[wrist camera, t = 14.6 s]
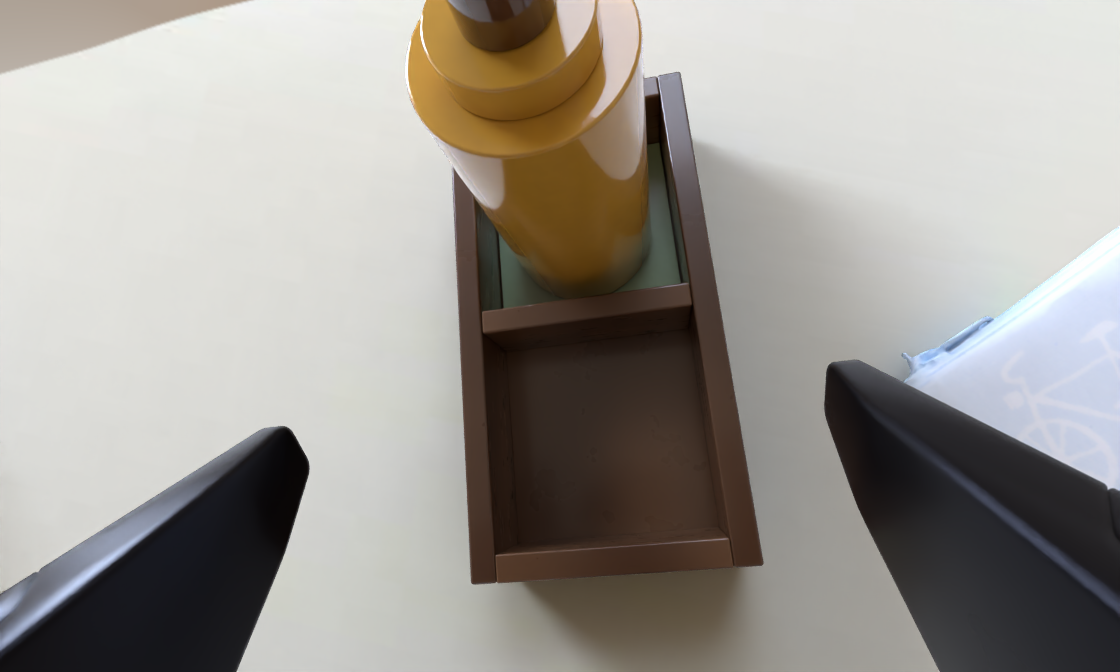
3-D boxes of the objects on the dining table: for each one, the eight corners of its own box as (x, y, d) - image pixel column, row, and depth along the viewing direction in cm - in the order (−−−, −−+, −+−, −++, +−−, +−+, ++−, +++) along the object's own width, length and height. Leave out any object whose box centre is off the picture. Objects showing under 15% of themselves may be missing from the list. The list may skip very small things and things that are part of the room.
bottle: (672, 197, 21) (686, -194, 9) (619, 320, 20) (551, 86, 8) (550, 159, 22) (410, -228, 10) (495, 273, 22) (271, 9, 9)
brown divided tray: (503, 565, 20) (470, 585, 16) (479, 167, 24) (448, 116, 20) (745, 548, 19) (764, 566, 15) (677, 131, 23) (680, 70, 19)
